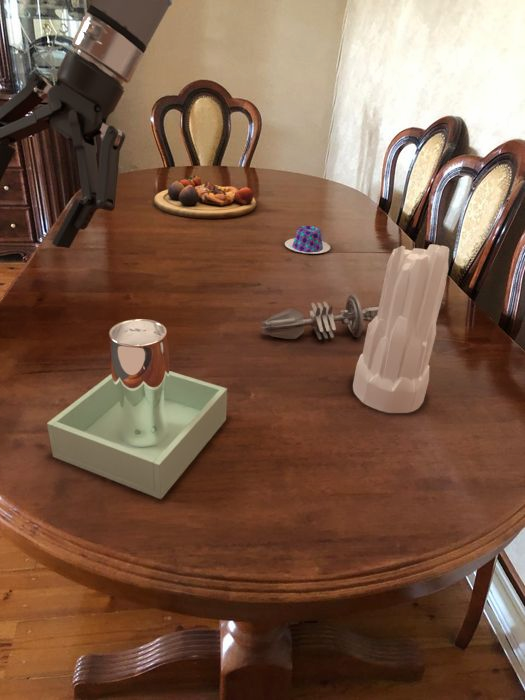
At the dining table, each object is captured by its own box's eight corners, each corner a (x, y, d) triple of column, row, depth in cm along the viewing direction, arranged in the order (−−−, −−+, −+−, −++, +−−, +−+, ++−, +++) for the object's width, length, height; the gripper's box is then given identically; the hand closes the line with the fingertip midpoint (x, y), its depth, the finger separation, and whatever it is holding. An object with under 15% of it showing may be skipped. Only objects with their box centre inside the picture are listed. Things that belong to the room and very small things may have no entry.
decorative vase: (341, 379, 84) (366, 227, 72) (398, 370, 88) (431, 223, 75) (376, 420, 76) (411, 255, 63) (437, 408, 79) (483, 249, 66)
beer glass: (179, 421, 71) (177, 323, 64) (159, 454, 65) (154, 351, 58) (131, 411, 72) (123, 314, 65) (107, 443, 66) (95, 340, 59)
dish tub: (53, 458, 65) (46, 423, 62) (132, 390, 78) (130, 358, 76) (161, 500, 60) (159, 464, 57) (226, 420, 73) (227, 388, 71)
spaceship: (460, 306, 93) (443, 274, 97) (266, 331, 88) (257, 296, 92) (446, 333, 99) (430, 302, 104) (264, 358, 94) (256, 325, 99)
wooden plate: (274, 205, 172) (276, 179, 168) (218, 227, 148) (218, 198, 144) (196, 187, 185) (195, 163, 181) (132, 205, 161) (131, 178, 157)
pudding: (339, 252, 136) (342, 232, 134) (301, 258, 131) (304, 238, 128) (312, 238, 145) (314, 219, 142) (275, 243, 139) (277, 224, 137)
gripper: (2, 1, 62) (-69, 159, 67) (163, 109, 59) (76, 269, 64) (43, 31, 70) (-24, 172, 75) (189, 129, 66) (109, 271, 71)
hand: (22, 217), depth 69 cm, fingers open, 13 cm apart
